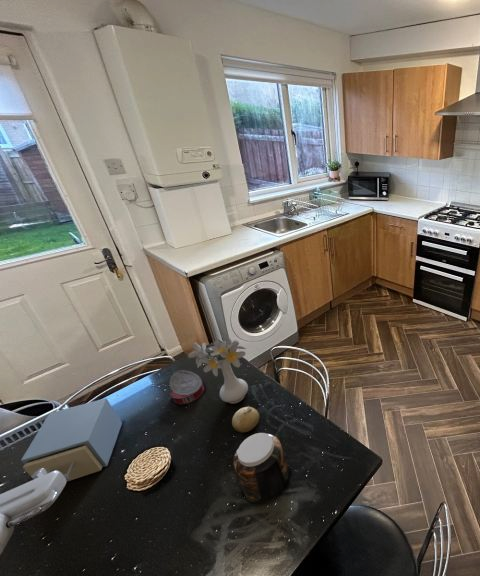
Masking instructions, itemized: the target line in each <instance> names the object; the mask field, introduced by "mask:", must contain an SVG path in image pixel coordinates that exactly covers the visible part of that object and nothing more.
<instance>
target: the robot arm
mask: <svg viewBox="0 0 480 576" xmlns="http://www.w3.org/2000/svg"><path fill="white" fill-rule="evenodd" d="M30 478H31V479H32V480H30V481H28V482H26V483H23V484H21V485H19V486H16V487H14V488H11V489H9V490H7V491H4V492H3V493H0V556H1V555H2V553H3V551H4V550H5V548H6V546H7V545H8V543H9V541H10V539H11V538H12V536H13V534H14V531H15V526H16V525H18V524H20V523H23V522H24V521H27V520H28V519H31V518H33V517H35V516H37V515H40V514H41V513H43V512H45V511H46V510H48V509H49V508H50V507H51V506H52V505H53V504H54V503H55V501H56V500H57V499H58V498H59V496H60V495H61V493H62V492H63V490H64V488H65V487H66V484H67V482H66V479H65V477H64V475H63V474H62V473H61V472H59V471H53V472H50V473H48V474H47V471H46V470H45V469H44V468H42V469H40V470H38V471H35V472H34V474H33V475H32V476H30Z"/></svg>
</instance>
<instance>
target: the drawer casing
mask: <svg viewBox="0 0 480 576" xmlns="http://www.w3.org/2000/svg"><path fill="white" fill-rule="evenodd" d="M122 425H123V421H122V420H121V419H120V417H119V415H118V414H117V412H116V411H115V409H114V408H113V406H112V404H111V403H110V402H109V400H108V398H107V397H105V398H101V399H97V400H94V401H90V402H86V403H82V404H78V405H75V406H72V407H68V408H63V409H60V410H56V411H52V412H49V414H48V415H47V416H46V418H45V420H44V421H43V423H42V425H41V426H40V427H39V430H38V431H37V433H36V434H35V436H34V437H33V440H32V441H31V443H30V445H29V446H28V448H27V449H26V451H25V453H24V454H23V456H22V458H21V460H20V462H22V463H23V465H25V464H26V463H29V462H32V461H35V460H34V459H36V458H39V457H43V456H46V455H49V454H53V453H56V452H59V451H63V450H66V449H69V448H73V447H76V446H79V445H83V444H86V445H87V446H88V448H89V449H90V450H91V452H92V453H93V454H94V455H95V457H96V458H97V459H98V461H99V462H100V464H101V465H102V469H103V468H106V467H108V465H109V462H110V460H111V456H112V454H113V450H114V448H115V445H116V442H117V439H118V436H119V433H120V431H121V427H122Z"/></svg>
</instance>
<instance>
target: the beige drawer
mask: <svg viewBox="0 0 480 576" xmlns="http://www.w3.org/2000/svg"><path fill="white" fill-rule="evenodd" d="M34 460H35V461H32V462H29V463H26V464H23V466H22V469H23V470H24V471H25V472H26V473H27V474H28V475H29V476H30V477H31V476H32V475H33V474H34V472H35V471H38V470H40V469H42V468H44V469H45V470H46V471H47V474H48V473H50V472H53V471H59V472H61V473H62V474H63V475H64V477H65V479H66V483H67V482H70V481H73V480H76V479H79V478H82V477H85V476H89V475H91V474H95V473H97V472H100V471H102V469H103V468H102V465H101V464H100V462H99V461H98V459H97V458H96V457H95V455H94V454H93V453H92V452H91V450H90V449H89V448H88V446H87V445H86V444H83V445H79V446H76V447H73V448H69V449H66V450H63V451H59V452H56V453H53V454H49V455H46V456H43V457H39V458H36V459H34Z"/></svg>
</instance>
